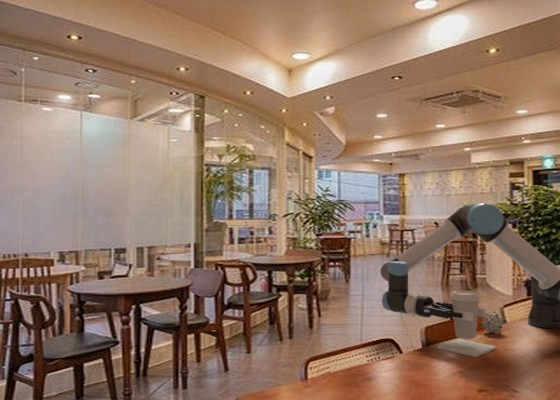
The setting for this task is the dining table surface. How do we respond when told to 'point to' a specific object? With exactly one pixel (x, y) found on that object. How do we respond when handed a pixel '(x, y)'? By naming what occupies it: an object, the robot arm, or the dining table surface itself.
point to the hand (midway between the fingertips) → (478, 315)
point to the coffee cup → (468, 304)
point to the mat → (467, 347)
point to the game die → (492, 323)
